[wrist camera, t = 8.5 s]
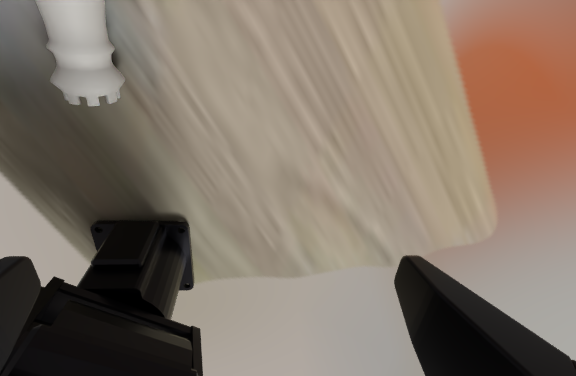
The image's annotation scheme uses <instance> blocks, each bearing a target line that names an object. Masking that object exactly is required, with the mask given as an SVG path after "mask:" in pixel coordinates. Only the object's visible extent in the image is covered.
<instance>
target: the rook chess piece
mask: <svg viewBox="0 0 576 376" xmlns="http://www.w3.org/2000/svg"><path fill="white" fill-rule="evenodd" d="M35 2H36V4H37V7H38V9H39V11H40V14H41V16H42V18H43V21H44V23H45V27H46V31H47V34H48V38H49V41H48V43H47V45H46V48H48V49H49V50H50V51H51V52H52V53H53V54H54V56H55V59H56V63H57V66H56V68H55V70H54V72H53V74H52V76H51V79H50V82H52V83H53V84H54V85H55V86H57V87H58V88H59V89H60V90H62V91H63V95H64V98H65V100H68V101H69V103H70V104H74V105H79V104H81V100H80V97H86V99H87V103H88V106H100V104H99V99H98V96H105V99H106V103H109V104H111V103H114V102H117V98H121V97H120V92H119V89H120V88H121V86H122V85H123V83H124V82H125V77H124V76H123V75H122V74H121V73H120V71H119V70H118V69H117V68H116V67H115V66H114V65H113V63H112V59H111V54H112V53H113V51H114V50H115V47H114V46H113V45H112V43H111V42H110V41H109V39H108V33H107V28H106V15H105V0H35Z"/></svg>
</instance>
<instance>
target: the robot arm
mask: <svg viewBox="0 0 576 376" xmlns="http://www.w3.org/2000/svg"><path fill="white" fill-rule="evenodd" d="M98 227H100V228H102V229H99V228H98ZM179 228H184V229H185V230H181V229H179ZM91 232H92V236H93V240H94V243H95V247H96V250H97V253H96V254H95V256H94V258H93V259H92V261H91V265H90V267H89V268H88V270H87V271H86V273H85V275H84V276H83V278H82V279H81V281H80V282H79V284H78V285H77V287H76V286H74V285H71V284H68V283H65V282H64V280H63V279H59V278H57V277H53V278H52V280H51V281H50V282H49V283H48V284H47V285H46V287H41V283H40V280H39V278H38V275H37V273H36V270H35V268H34V265H33V263H32V261H31V259H29V258H28V257H25V256H9V257H4V258H2V259H0V376H203V371H202V353H201V336H200V328H197V327H194V326H191V327H189V326H187V325H184V324H181V323H178V322H175V321H172V320H171V317H172V314H173V310H174V306H175V302H176V299H177V294H178V291H179V290H191V289H192V288H193V286H194V273H193V262H192V250H191V239H190V227H189V225H188V224H187V223H186V222H180V221H133V220H119V221H96V222H94V224H93V225H92V226H91ZM394 284H395V289H396V292H397V295H398V298H399V302H400V306H401V309H402V312H403V316H404V318H405V322H406V326H407V329H408V332H409V335H410V338H411V341H412V344H413V347H414V349H415V352H416V354H417V357H418V359H419V362H420V364H421V366H422V369H423V371H424V374H425V376H576V361H575V360H571V359H570V357H569V356H567V355H566V354H564V353H563V352H561V351H560V350H559V349H557V348H556V347H554V346H553V345H551V344H550V343H548V342H546V341H545V340H543V339H542V338H540V337H539V336H538V335H536V334H535V333H533V332H532V331H530V330H529V329H527V328H526V327H524V326H523V325H521V324H520V323H518V322H517V321H515V320H514V319H512V318H511V317H510V316H508V315H506V314H505V313H503V312H502V311H500V310H499V309H498V308H496V307H495V306H493V305H492V304H490V303H489V302H487V301H486V300H484V299H483V298H481V297H479V296H478V295H477V294H475V293H474V292H472V291H471V290H469V289H468V288H466V287H465V286H463V285H462V284H460V283H459V282H458V281H456V280H455V279H453V278H452V277H450V276H449V275H447V274H446V273H444V272H443V271H441V270H440V269H438V268H437V267H435V266H434V265H432V264H431V263H429V262H428V261H426V260H425V259H423V258H422V257H420V256H416V255H406V256H403V257H402V259H401V261H400V264H399V267H398V270H397V273H396V275H395V280H394Z"/></svg>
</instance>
